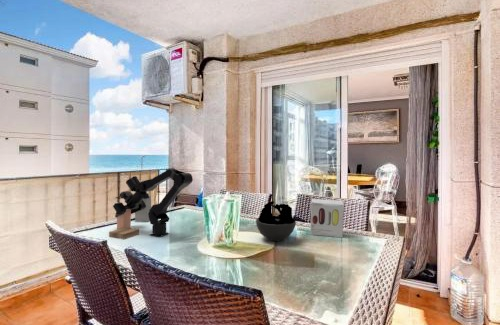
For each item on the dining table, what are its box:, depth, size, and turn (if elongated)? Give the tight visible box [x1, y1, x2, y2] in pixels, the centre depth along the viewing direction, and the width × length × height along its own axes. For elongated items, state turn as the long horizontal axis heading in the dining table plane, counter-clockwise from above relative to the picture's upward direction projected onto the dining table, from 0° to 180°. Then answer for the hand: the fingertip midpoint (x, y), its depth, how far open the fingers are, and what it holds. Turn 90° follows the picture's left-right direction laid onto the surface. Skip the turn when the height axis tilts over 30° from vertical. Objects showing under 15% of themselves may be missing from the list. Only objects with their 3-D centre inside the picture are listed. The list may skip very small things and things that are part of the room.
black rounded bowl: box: [255, 200, 297, 242], centre depth 142 cm, size 20×20×19 cm
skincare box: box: [134, 195, 152, 223], centre depth 177 cm, size 8×7×16 cm
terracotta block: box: [116, 209, 132, 230], centre depth 158 cm, size 5×5×13 cm
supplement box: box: [309, 198, 345, 238], centre depth 157 cm, size 17×13×18 cm
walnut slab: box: [108, 227, 140, 240], centre depth 145 cm, size 10×10×3 cm
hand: (122, 215), depth 159 cm, fingers open, 9 cm apart
